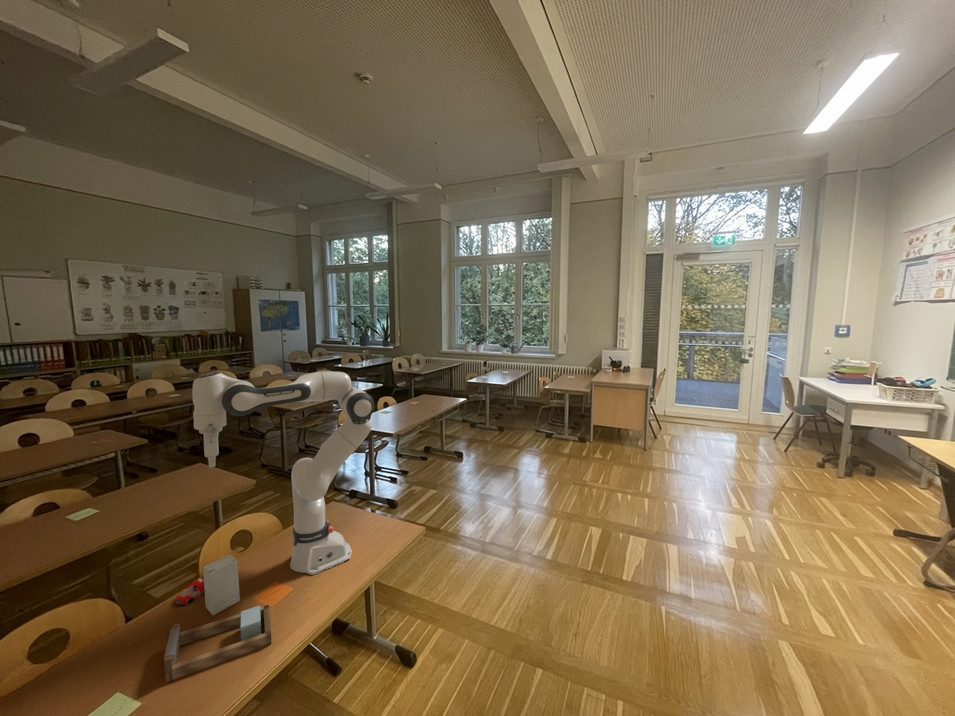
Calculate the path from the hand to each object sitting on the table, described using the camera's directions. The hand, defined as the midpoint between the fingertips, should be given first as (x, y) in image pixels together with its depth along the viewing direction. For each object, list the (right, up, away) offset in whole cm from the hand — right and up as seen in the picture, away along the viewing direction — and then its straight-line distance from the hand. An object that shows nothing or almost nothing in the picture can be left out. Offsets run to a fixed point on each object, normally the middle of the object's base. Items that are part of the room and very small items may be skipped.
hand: (212, 461), depth 127 cm
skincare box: (+5, -47, -3) cm, 47 cm away
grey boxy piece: (+21, -48, -14) cm, 54 cm away
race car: (-7, -46, +3) cm, 47 cm away
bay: (+15, -48, -17) cm, 53 cm away
